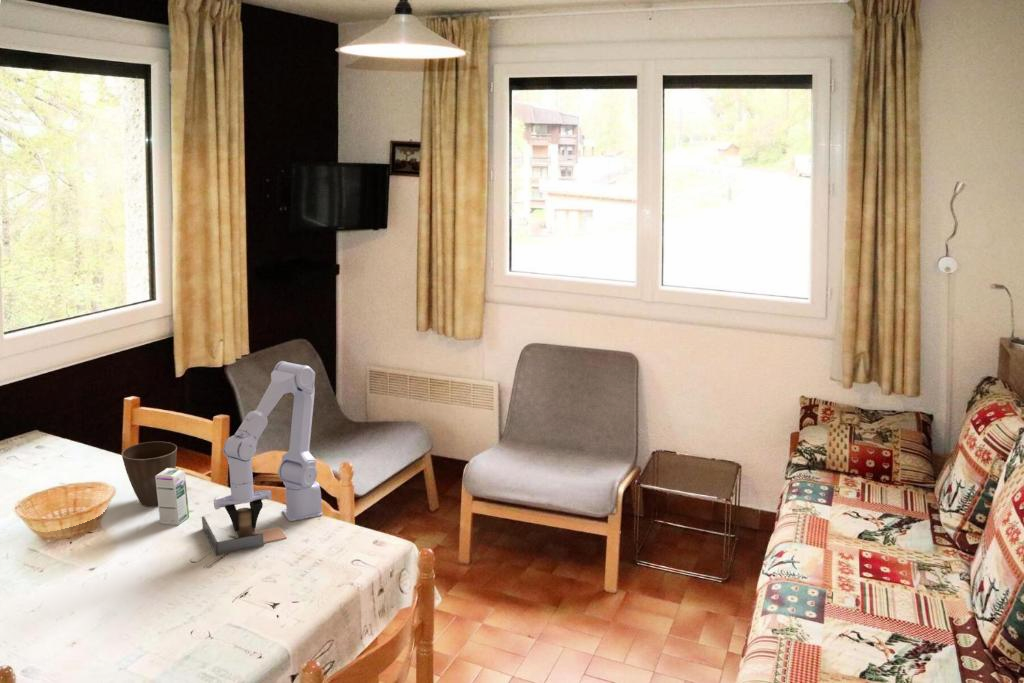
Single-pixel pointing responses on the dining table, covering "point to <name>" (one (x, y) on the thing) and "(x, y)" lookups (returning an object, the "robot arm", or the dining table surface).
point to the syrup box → (172, 496)
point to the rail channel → (232, 541)
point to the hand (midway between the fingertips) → (244, 528)
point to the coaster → (272, 534)
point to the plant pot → (148, 467)
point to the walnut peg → (244, 522)
